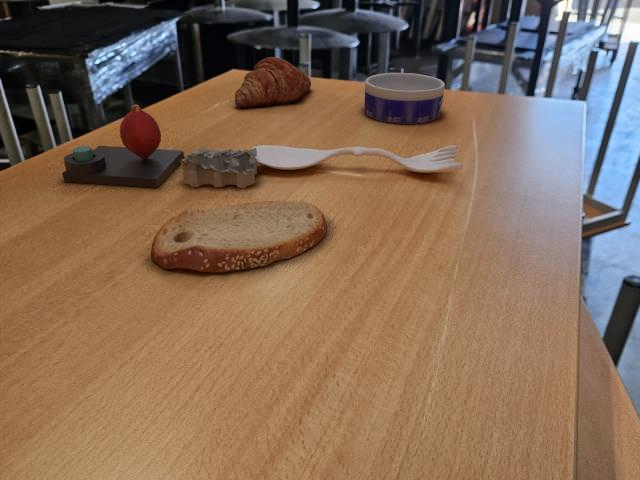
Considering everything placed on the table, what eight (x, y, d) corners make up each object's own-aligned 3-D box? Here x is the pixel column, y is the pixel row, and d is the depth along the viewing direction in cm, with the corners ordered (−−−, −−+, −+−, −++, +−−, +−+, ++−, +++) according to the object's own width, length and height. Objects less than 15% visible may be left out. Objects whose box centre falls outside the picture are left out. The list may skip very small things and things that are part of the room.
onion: (123, 154, 89) (113, 100, 84) (161, 150, 90) (153, 97, 86) (126, 167, 84) (116, 111, 79) (166, 162, 86) (158, 107, 81)
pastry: (310, 110, 114) (310, 67, 110) (233, 109, 114) (230, 66, 109) (311, 89, 128) (311, 50, 123) (242, 88, 128) (239, 49, 123)
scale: (61, 182, 83) (56, 162, 81) (99, 154, 93) (95, 135, 91) (156, 188, 81) (153, 168, 80) (184, 159, 91) (182, 140, 89)
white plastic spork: (460, 185, 84) (464, 162, 82) (245, 175, 86) (243, 153, 84) (454, 163, 91) (457, 142, 89) (256, 155, 93) (255, 133, 91)
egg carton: (179, 187, 82) (175, 159, 80) (192, 168, 88) (188, 142, 86) (253, 189, 81) (251, 161, 79) (261, 170, 88) (259, 143, 85)
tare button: (71, 162, 82) (69, 151, 81) (80, 155, 84) (77, 145, 83) (88, 163, 82) (86, 152, 81) (97, 156, 84) (94, 146, 83)
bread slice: (335, 220, 74) (336, 193, 72) (289, 292, 60) (288, 260, 58) (208, 202, 78) (205, 176, 76) (137, 265, 64) (130, 235, 62)
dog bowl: (374, 99, 121) (376, 69, 118) (446, 107, 118) (450, 75, 114) (354, 119, 110) (356, 86, 106) (434, 128, 106) (438, 94, 102)
